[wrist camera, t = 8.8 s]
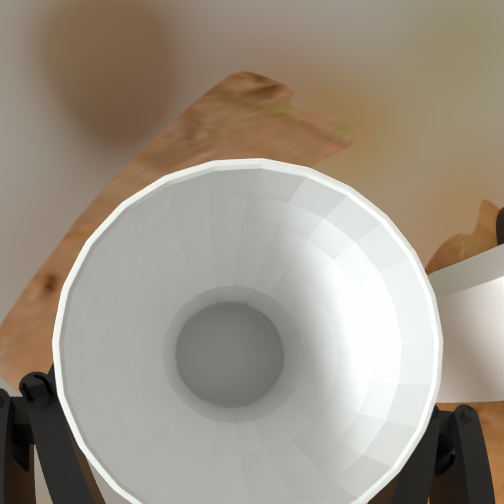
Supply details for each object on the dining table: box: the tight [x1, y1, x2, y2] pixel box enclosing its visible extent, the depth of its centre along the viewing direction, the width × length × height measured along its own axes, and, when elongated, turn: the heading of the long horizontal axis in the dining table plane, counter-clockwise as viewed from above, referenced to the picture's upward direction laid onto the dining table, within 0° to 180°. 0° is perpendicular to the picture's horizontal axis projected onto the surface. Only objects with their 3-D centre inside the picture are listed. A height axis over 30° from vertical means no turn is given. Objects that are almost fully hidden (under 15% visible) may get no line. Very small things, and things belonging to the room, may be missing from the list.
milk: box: [427, 244, 504, 403], centre depth 22 cm, size 12×12×26 cm
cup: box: [52, 158, 443, 504], centre depth 13 cm, size 11×11×15 cm
